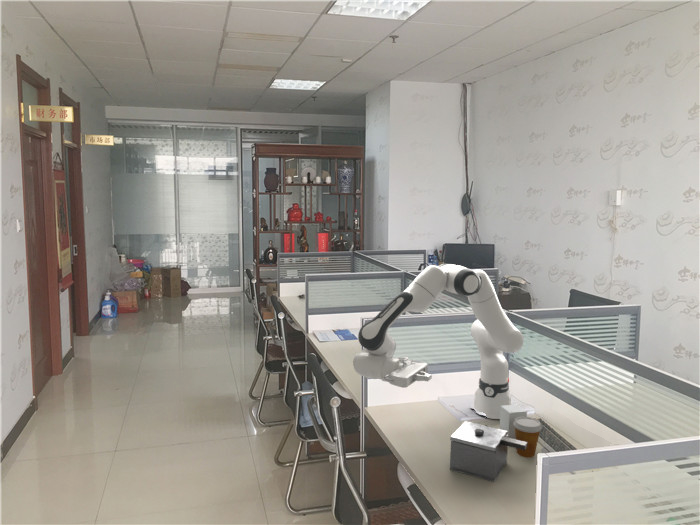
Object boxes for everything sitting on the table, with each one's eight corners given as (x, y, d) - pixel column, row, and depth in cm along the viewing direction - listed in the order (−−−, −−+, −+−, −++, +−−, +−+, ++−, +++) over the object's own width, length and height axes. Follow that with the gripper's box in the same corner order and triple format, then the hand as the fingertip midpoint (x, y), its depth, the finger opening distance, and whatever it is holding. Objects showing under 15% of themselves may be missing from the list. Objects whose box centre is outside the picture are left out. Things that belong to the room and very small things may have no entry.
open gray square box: (464, 451, 203) (465, 425, 201) (506, 462, 195) (508, 435, 194) (449, 469, 190) (451, 441, 189) (493, 481, 182) (495, 452, 181)
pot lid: (465, 424, 201) (465, 418, 201) (531, 439, 190) (531, 433, 190) (450, 440, 189) (450, 433, 188) (520, 457, 177) (520, 451, 177)
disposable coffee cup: (541, 451, 204) (543, 419, 203) (537, 462, 196) (539, 429, 194) (514, 445, 209) (516, 414, 207) (509, 456, 200) (511, 423, 199)
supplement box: (525, 444, 210) (527, 411, 208) (507, 445, 208) (509, 412, 207) (516, 435, 217) (518, 404, 215) (498, 436, 215) (500, 405, 214)
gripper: (381, 369, 195) (418, 377, 189) (406, 355, 213) (441, 362, 206) (381, 387, 196) (417, 395, 189) (405, 371, 214) (440, 378, 207)
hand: (430, 378), depth 198 cm, fingers closed
